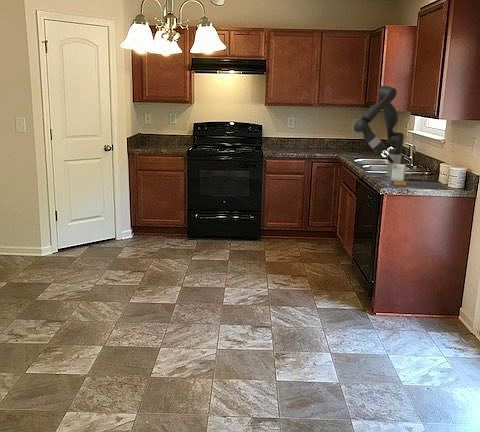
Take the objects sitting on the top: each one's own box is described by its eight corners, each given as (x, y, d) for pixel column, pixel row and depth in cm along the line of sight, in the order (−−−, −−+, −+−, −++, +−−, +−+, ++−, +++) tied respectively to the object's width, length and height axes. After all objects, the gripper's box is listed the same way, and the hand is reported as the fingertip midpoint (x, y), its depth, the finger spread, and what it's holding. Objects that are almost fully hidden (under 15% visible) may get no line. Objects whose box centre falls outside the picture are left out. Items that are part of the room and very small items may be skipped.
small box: (404, 183, 356) (406, 164, 353) (402, 184, 351) (404, 165, 347) (392, 181, 360) (394, 163, 357) (390, 183, 354) (392, 164, 351)
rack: (388, 183, 362) (388, 177, 361) (437, 185, 358) (437, 179, 357) (390, 186, 350) (391, 180, 349) (441, 188, 346) (442, 183, 345)
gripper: (382, 141, 343) (397, 159, 344) (379, 139, 357) (394, 156, 358) (373, 149, 345) (388, 166, 346) (370, 146, 358) (385, 163, 360)
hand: (391, 161), depth 352 cm, fingers open, 8 cm apart
